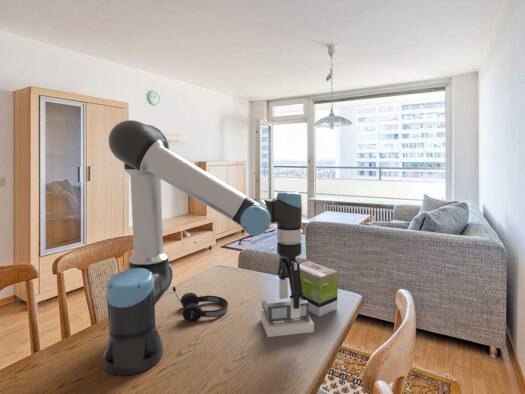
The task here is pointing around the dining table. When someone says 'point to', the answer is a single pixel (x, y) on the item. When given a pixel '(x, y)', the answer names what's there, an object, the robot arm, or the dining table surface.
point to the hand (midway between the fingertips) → (288, 307)
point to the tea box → (319, 287)
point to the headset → (194, 310)
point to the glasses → (284, 310)
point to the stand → (287, 326)
